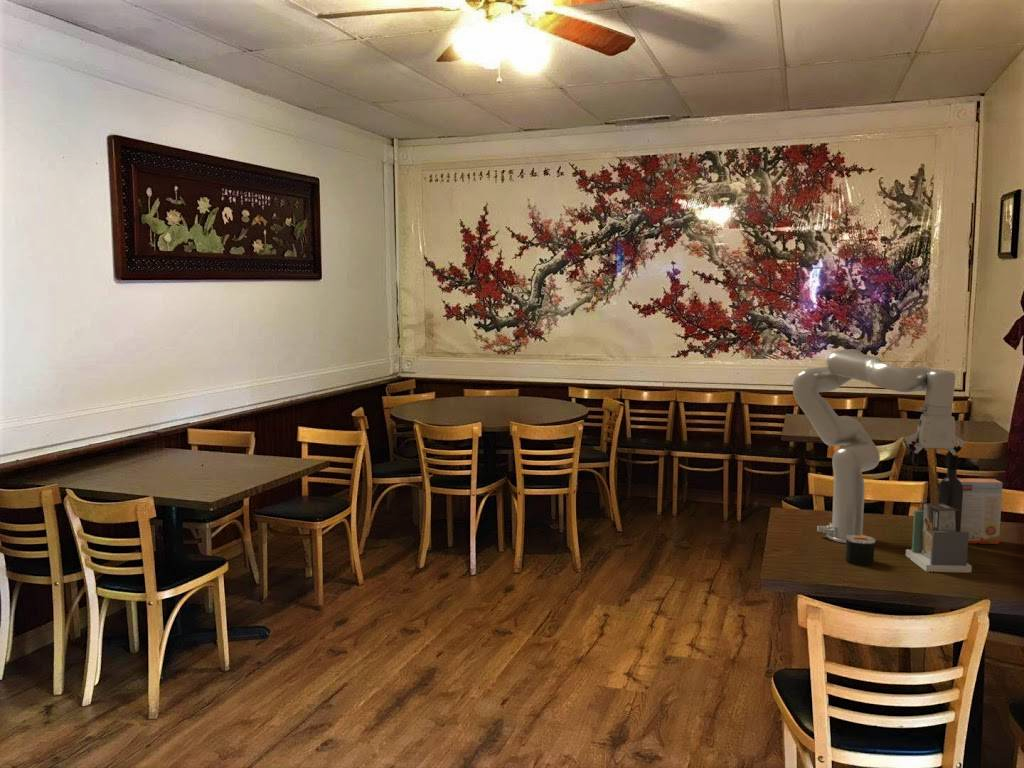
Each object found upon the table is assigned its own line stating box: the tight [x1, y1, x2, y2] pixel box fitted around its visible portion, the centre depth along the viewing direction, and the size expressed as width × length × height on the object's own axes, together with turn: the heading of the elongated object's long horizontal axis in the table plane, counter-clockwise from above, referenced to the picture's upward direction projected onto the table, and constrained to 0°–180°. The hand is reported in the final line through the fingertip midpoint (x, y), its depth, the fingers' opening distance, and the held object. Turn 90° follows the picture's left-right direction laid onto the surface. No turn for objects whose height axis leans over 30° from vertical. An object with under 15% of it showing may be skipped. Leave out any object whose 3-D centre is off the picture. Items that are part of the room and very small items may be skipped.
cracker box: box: [957, 477, 1003, 545], centre depth 278 cm, size 14×6×21 cm, turn 84°
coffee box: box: [921, 502, 959, 559], centre depth 255 cm, size 9×6×16 cm
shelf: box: [905, 509, 973, 574], centre depth 256 cm, size 13×15×15 cm
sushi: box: [845, 534, 876, 567], centre depth 258 cm, size 8×8×8 cm
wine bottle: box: [937, 454, 963, 532], centre depth 272 cm, size 6×6×30 cm
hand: (932, 466), depth 257 cm, fingers open, 9 cm apart
